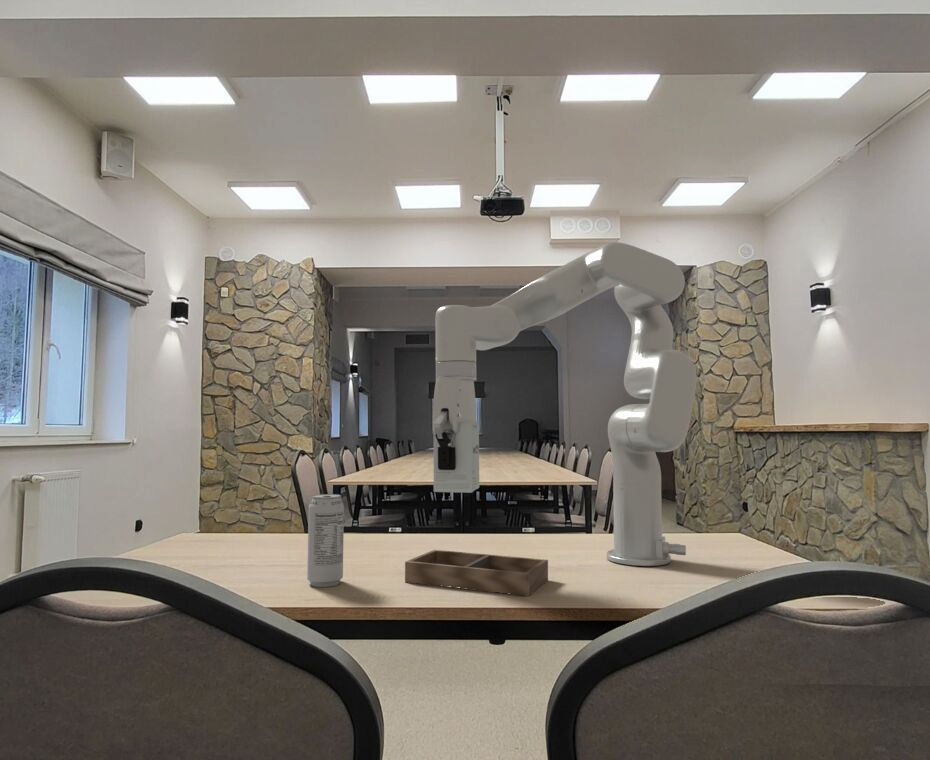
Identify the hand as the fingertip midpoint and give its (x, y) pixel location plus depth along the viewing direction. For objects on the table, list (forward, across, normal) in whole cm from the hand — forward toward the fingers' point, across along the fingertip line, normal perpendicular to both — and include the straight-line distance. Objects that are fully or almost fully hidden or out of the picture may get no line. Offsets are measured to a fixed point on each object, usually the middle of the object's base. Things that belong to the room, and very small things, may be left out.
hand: (457, 467), depth 114 cm
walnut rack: (+20, +2, +4) cm, 20 cm away
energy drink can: (+20, +14, -19) cm, 31 cm away
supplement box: (+4, 0, 0) cm, 4 cm away
